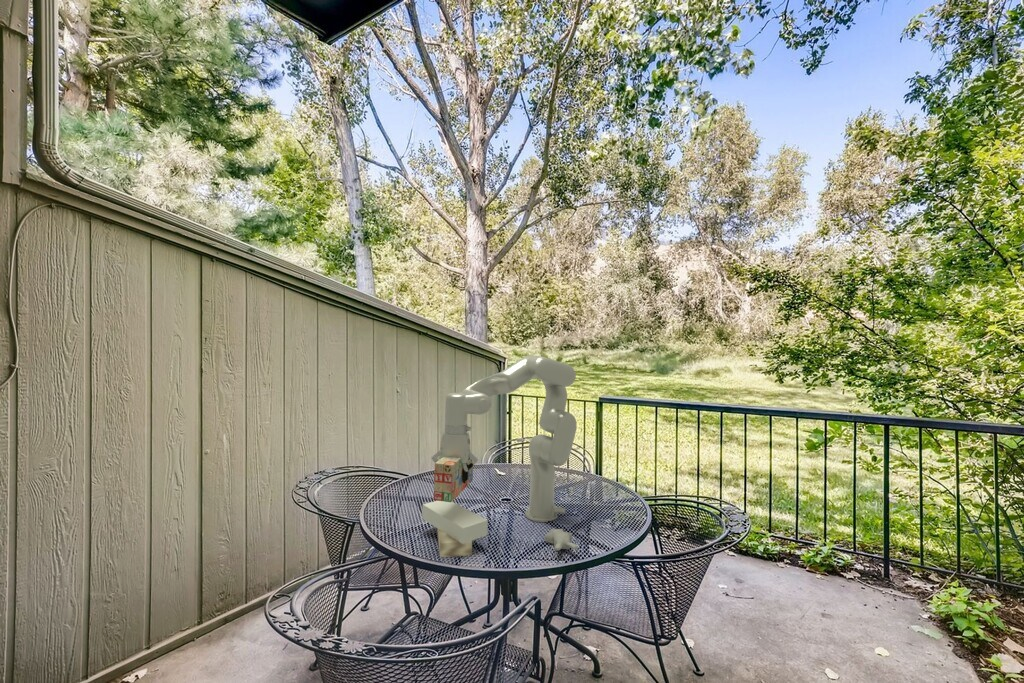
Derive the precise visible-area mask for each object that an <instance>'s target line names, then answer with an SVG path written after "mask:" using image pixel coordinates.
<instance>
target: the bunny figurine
mask: <svg viewBox="0 0 1024 683" xmlns="http://www.w3.org/2000/svg"><path fill="white" fill-rule="evenodd" d="M572 540H573V533H571V532H568V531H564V529H563V528H558V529H557V528H554V529H550V530H549V532H548V533H545V534H544V541H545V542H546V543H549V544H552V545H553V550H554V551H561V550H565V549H567V550H569V549H570V548H571V549H572V550H579V548H578V545H577V544H576V543H573V542H571V541H572Z"/></svg>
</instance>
